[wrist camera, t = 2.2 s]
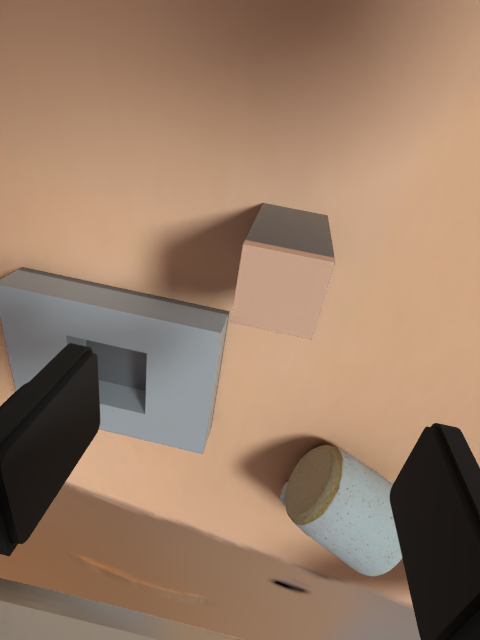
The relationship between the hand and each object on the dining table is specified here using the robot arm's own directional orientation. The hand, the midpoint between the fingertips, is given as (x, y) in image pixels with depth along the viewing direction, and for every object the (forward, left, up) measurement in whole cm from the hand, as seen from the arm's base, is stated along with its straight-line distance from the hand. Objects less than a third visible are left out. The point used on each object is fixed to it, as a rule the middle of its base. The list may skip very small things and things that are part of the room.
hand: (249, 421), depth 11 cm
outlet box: (+11, +12, -16) cm, 22 cm away
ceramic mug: (-9, +20, -16) cm, 27 cm away
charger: (0, 0, -16) cm, 16 cm away
